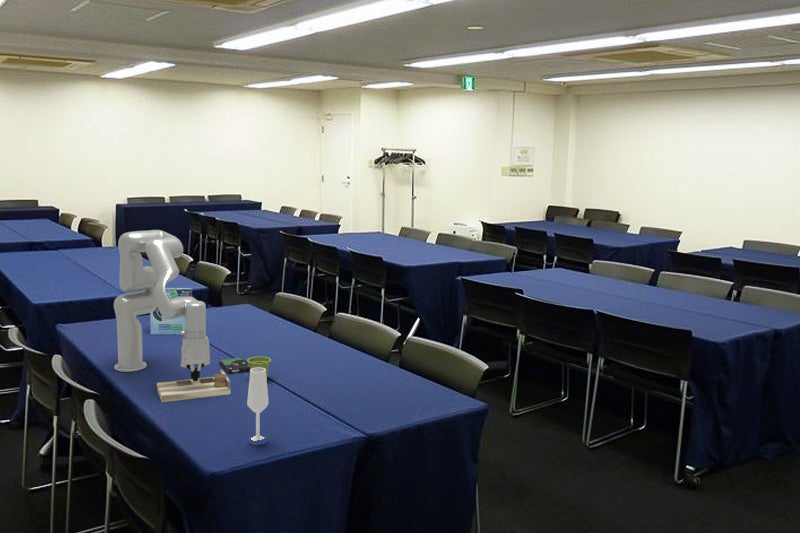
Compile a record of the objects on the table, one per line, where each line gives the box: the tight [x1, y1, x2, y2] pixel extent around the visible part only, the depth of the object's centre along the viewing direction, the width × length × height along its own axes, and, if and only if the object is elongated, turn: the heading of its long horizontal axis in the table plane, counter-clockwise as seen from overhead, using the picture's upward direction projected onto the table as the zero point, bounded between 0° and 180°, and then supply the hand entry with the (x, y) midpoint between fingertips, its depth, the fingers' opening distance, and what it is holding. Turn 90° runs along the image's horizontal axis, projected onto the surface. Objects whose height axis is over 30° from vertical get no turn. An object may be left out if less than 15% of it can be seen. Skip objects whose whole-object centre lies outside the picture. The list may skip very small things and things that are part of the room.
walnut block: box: [213, 373, 227, 388], centre depth 259 cm, size 4×4×4 cm
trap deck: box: [156, 369, 232, 403], centre depth 259 cm, size 15×25×5 cm, turn 116°
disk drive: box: [218, 356, 250, 375], centre depth 289 cm, size 10×3×15 cm
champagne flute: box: [246, 367, 270, 441], centre depth 216 cm, size 7×7×24 cm
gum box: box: [149, 287, 193, 336], centre depth 336 cm, size 20×5×23 cm, turn 99°
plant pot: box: [246, 356, 272, 379], centre depth 274 cm, size 9×9×9 cm
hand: (195, 380), depth 258 cm, fingers closed
